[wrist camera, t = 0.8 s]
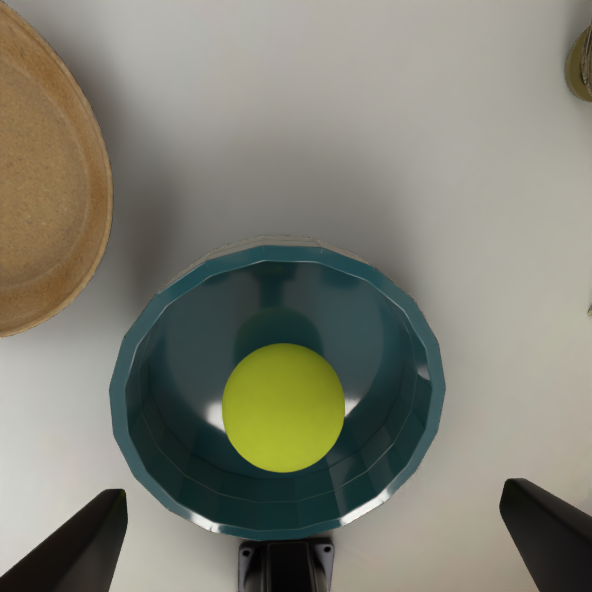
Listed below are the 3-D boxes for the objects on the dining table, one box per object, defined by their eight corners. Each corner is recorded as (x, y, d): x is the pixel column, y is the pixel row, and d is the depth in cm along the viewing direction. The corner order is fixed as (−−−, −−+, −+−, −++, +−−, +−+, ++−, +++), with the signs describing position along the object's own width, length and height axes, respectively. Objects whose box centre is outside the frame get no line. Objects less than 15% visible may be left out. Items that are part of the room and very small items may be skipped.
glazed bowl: (392, 476, 24) (419, 534, 20) (149, 483, 22) (123, 547, 18) (428, 241, 20) (471, 253, 16) (130, 228, 18) (93, 237, 14)
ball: (328, 419, 21) (352, 501, 16) (227, 420, 21) (214, 506, 15) (336, 326, 20) (366, 380, 14) (227, 324, 19) (213, 380, 13)
